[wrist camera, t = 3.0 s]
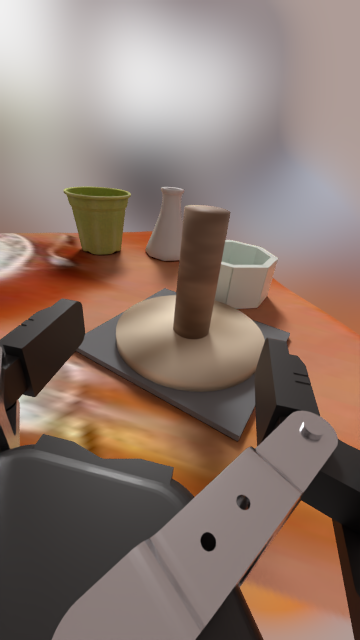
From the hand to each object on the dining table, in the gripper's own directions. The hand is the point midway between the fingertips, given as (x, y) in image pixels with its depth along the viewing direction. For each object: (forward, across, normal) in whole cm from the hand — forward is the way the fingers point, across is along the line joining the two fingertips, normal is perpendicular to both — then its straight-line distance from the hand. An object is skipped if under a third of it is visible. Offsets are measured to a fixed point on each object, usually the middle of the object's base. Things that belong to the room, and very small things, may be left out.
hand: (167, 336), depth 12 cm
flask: (+34, +8, +8) cm, 36 cm away
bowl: (+24, -2, +8) cm, 25 cm away
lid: (+11, 0, +8) cm, 13 cm away
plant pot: (+31, +18, +8) cm, 37 cm away
